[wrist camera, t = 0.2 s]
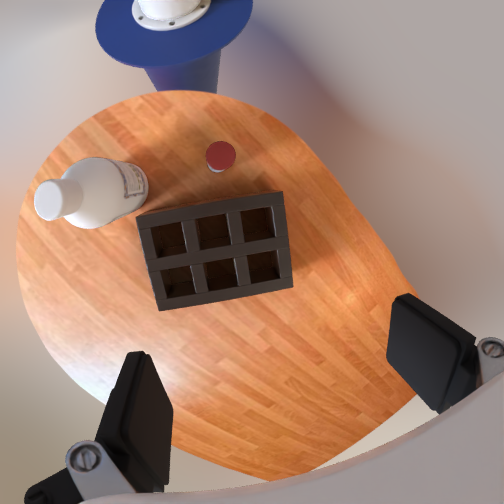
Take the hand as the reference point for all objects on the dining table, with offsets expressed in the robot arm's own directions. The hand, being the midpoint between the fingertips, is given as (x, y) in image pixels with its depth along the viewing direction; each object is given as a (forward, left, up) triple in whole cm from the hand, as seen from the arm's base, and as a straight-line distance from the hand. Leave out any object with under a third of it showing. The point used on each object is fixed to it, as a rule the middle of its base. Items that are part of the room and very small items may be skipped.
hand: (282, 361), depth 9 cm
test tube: (-9, 0, -30) cm, 31 cm away
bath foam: (-8, -13, -30) cm, 33 cm away
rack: (+2, -2, -30) cm, 30 cm away
